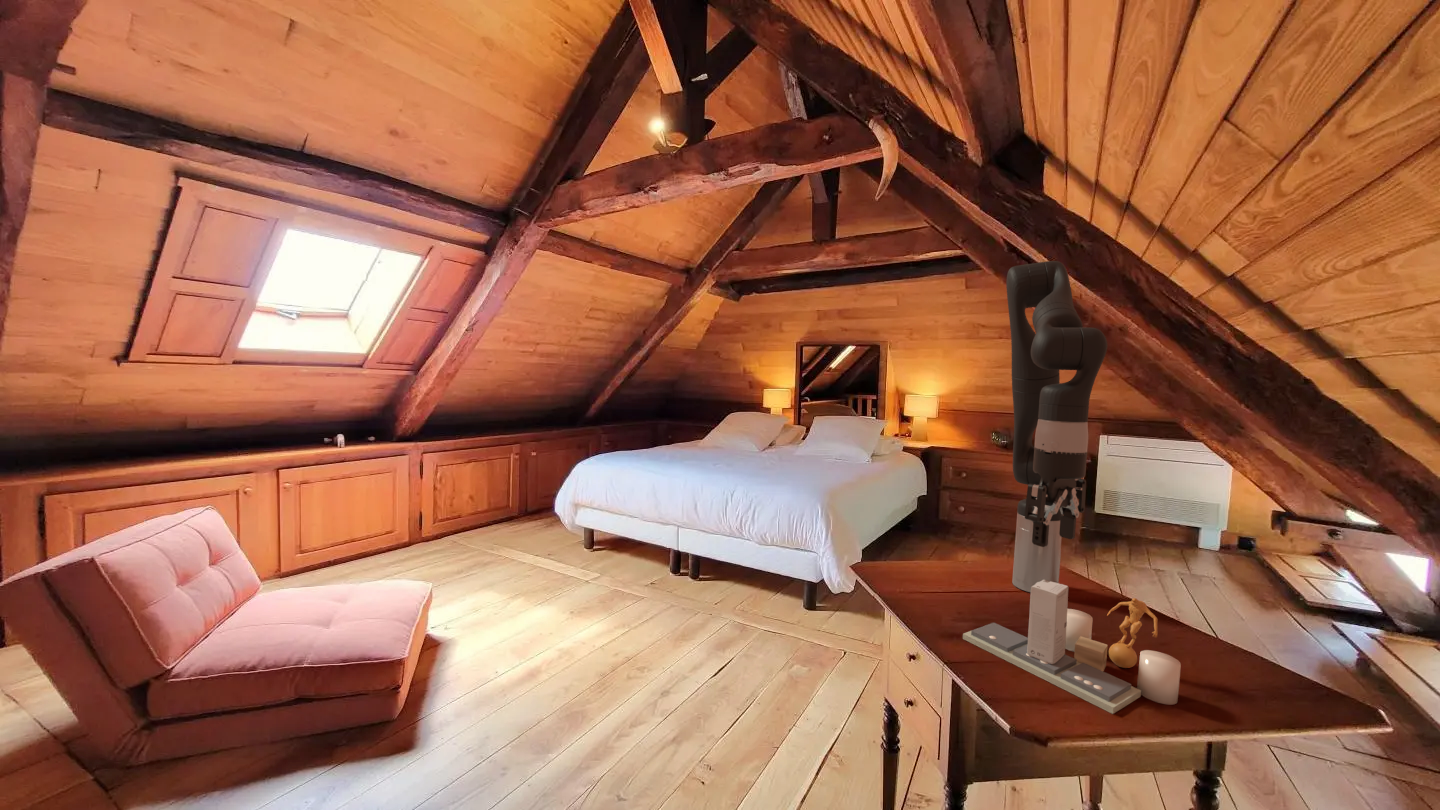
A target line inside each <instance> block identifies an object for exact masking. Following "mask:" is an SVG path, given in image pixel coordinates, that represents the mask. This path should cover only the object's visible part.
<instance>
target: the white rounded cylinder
mask: <svg viewBox="0 0 1440 810" xmlns="http://www.w3.org/2000/svg"><path fill="white" fill-rule="evenodd" d="M1092 629H1093V616H1091V615H1090V614H1089V613H1086V612H1084V611H1081V610H1078V609H1074V608H1073V609H1072V608H1067V626H1066V644H1065V650H1068V651H1070V652H1075V644H1076V642H1077V641H1078V639H1079V638H1080V636H1081V637H1084V638H1088V639H1091V640H1092V631H1093V630H1092Z"/></svg>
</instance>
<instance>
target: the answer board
mask: <svg viewBox="0 0 1440 810" xmlns="http://www.w3.org/2000/svg"><path fill="white" fill-rule="evenodd" d="M962 639H963V640H964V641H967V642H969V643H970V644H973V645H974V646H977V647H978V648H980V649H982V650H983V651H986V652H988V653H990V654H991V655H992V654H993V655H994V656H996V657H997V658H1000V659H1002V660H1005V662H1008V663H1010V664H1011V665H1012V664H1013V665H1014V666H1016V667H1018V668H1019V669H1023V670H1024V671H1026V672H1028V673H1030V674H1031V675H1035V676H1036V677H1038V678H1040V679H1042V680H1045V681H1047V682H1049V684H1052V685H1054V686H1056V687H1058V688H1060V689H1062V690H1065V691H1066V692H1068V693H1070V694H1072V695H1074V696H1076V697H1078V698H1079V699H1082V700H1084V701H1086V702H1087V703H1090V704H1092V705H1094V706H1096V707H1098V708H1100V709H1102V710H1104V711H1106V712H1108V713H1109V714H1111V715H1114V714H1115V713H1117V712H1118V711H1120V710H1122V709H1123V708H1125V707H1127V706H1128V705H1130V704H1131V703H1133V702H1134V701H1136V700H1137V699H1139V698H1141V696H1142V695H1141V690H1139V689H1137V687H1134V686H1132V683H1130V682H1127V681H1125V680H1123V679H1120V678H1118V677H1116V676H1114V675H1112V674H1110V673H1108V672H1105V671H1101V670H1099V669H1096V668H1094V667H1092V666H1090V665H1088V664H1085V663H1079V662H1077V660H1076V659H1074V658H1073V657H1072V656H1070V655H1067V654H1066V653H1065V654H1064V656H1063V657H1062V658H1061V659H1060V660H1058V661H1057V662H1056V663H1054V664H1049V663H1047V662H1044V661H1041V660H1039V659H1036V658H1034V657H1032V656H1030V655H1028V654H1027V646H1028V636H1024V635H1023V634H1020V633H1018V632H1017V631H1013V630H1012V629H1009V628H1007V627H1005V626H1002V625H1001V624H998V623H996V622H990V623H988V624H986V625H984V626H980V627H978V628H975V629H972V630H969V631H967V632H964V633H962Z"/></svg>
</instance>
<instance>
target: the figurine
mask: <svg viewBox="0 0 1440 810" xmlns="http://www.w3.org/2000/svg"><path fill="white" fill-rule="evenodd" d="M1121 606H1128V610H1129V611H1128V612H1129V616H1128V615H1125V617H1124V620H1123V621H1122V623H1121V624H1120V625H1119V630H1120V631H1121V633H1122V634H1123V636H1122V638H1121V639H1119V641H1117V642H1115V643H1113V644H1112V645H1110V647H1108V648H1109V649H1108V656H1109V659H1110V661H1112V662H1113V664H1115V665H1116V666H1117V667H1120V668H1123V669H1131V668H1132V667H1134V666H1135V665H1136V664H1137V662H1138V656H1137V653H1136V651H1135V649H1134V648H1133V645H1134V643H1135V642H1136V639H1137V635H1136V634H1137V633H1138V632H1139V631H1140V629H1141V628H1142V626H1143V623H1142V621H1140V620H1141V618H1142V617H1143V615H1144V614H1145V613H1146V614H1147V615H1148V616H1149V617H1151V618H1152V619H1153V628H1154V631H1152V632H1151V634H1153V635H1152V637H1154V639H1155V638H1156V639H1157V638H1158V633H1159V631H1158V628H1159V627H1158V620H1159V619H1158V617H1157V616H1156V615H1155V614H1154V613H1153V612H1152V611H1151V610H1150V608H1148V606H1147V604H1146V603H1145V602H1144V601H1142V600H1138V599H1137V598H1136V597H1135V598H1134V597H1133V598H1132V599H1131V601H1121V602H1118V603H1117V604H1116V605H1115V606H1114V607H1112V608H1111V609H1110V610H1109V611H1108V613H1107V615H1106V616H1107V617H1108V616H1109V615H1110V614H1111V612H1114V611H1115V610H1118V608H1120V607H1121ZM1129 627H1130V629H1129V632H1130V633H1129V634H1130V636H1131V637H1130V638H1132V639H1130V642H1129V643H1128V644H1126V643H1125V641H1126V639H1127V638H1128V632H1127V630H1126V628H1129Z"/></svg>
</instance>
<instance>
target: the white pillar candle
mask: <svg viewBox="0 0 1440 810" xmlns="http://www.w3.org/2000/svg"><path fill="white" fill-rule="evenodd" d="M1139 654H1140V655H1139V664H1138V673H1137V686H1136V688H1137V689H1139V690H1141V696H1142V697H1144V698H1145V699H1148V700H1150V701H1153V702H1155V703H1158V704H1162V705H1170V706H1171V705H1175V704H1177V703H1178V700H1179V699H1178V698H1179V689H1180V679H1181V678H1180V677H1181V665H1182V664H1181V662H1180V661H1179V660H1178V658H1177V659H1176V658H1175V657H1174V656H1172V655H1169V654H1167V653H1164V652H1160V651H1156V650H1150V649H1144V650H1141V651H1140V653H1139Z"/></svg>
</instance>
